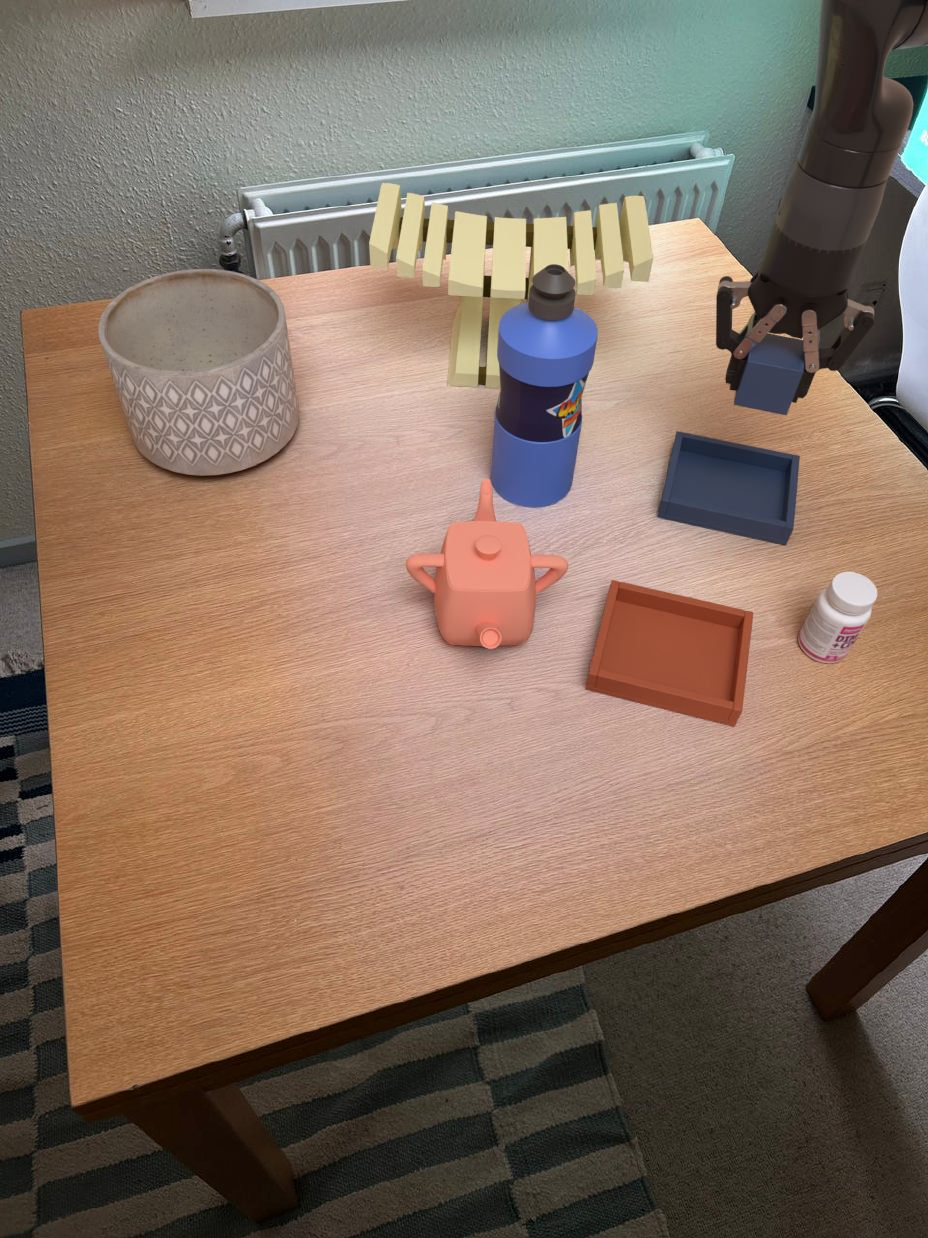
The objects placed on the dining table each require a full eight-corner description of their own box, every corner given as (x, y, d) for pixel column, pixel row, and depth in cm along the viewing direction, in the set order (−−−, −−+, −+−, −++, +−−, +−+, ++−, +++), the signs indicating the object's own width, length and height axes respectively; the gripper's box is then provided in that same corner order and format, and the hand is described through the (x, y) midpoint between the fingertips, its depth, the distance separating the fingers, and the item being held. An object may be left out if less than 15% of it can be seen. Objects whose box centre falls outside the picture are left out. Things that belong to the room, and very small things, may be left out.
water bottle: (588, 471, 102) (626, 263, 82) (545, 520, 97) (574, 312, 77) (517, 439, 105) (537, 231, 85) (472, 484, 100) (482, 275, 80)
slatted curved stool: (617, 318, 120) (642, 183, 106) (625, 394, 110) (653, 257, 96) (389, 306, 120) (384, 170, 106) (376, 381, 110) (369, 242, 97)
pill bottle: (827, 673, 85) (861, 617, 79) (786, 641, 88) (816, 584, 81) (858, 648, 87) (893, 591, 81) (817, 617, 90) (848, 559, 83)
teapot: (579, 630, 88) (593, 559, 80) (485, 695, 83) (490, 626, 75) (482, 545, 94) (487, 471, 86) (390, 600, 89) (386, 527, 82)
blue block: (789, 384, 89) (806, 340, 86) (786, 415, 86) (803, 371, 83) (738, 374, 90) (752, 330, 86) (733, 404, 87) (748, 360, 83)
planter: (331, 408, 107) (320, 298, 96) (236, 507, 97) (211, 397, 85) (202, 361, 112) (176, 251, 101) (98, 450, 102) (57, 338, 90)
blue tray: (792, 473, 102) (800, 455, 100) (786, 545, 95) (793, 528, 93) (671, 448, 104) (676, 430, 102) (656, 517, 98) (661, 499, 95)
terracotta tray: (746, 628, 88) (753, 611, 86) (734, 727, 81) (742, 711, 79) (607, 596, 90) (612, 579, 88) (584, 689, 84) (588, 673, 81)
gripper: (730, 229, 74) (684, 400, 87) (914, 261, 71) (838, 431, 85) (739, 186, 78) (693, 354, 91) (912, 214, 76) (840, 382, 89)
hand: (763, 390), depth 88 cm, fingers closed on blue block, 5 cm apart
